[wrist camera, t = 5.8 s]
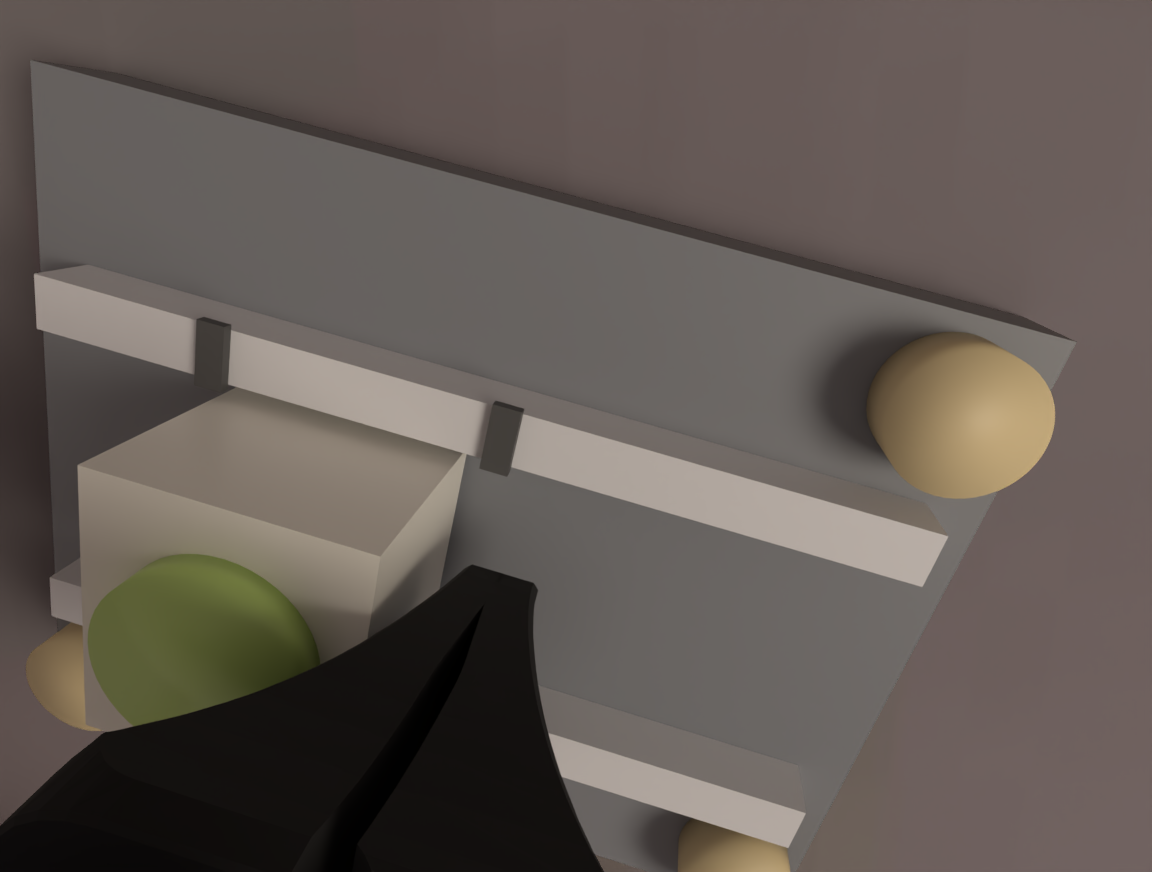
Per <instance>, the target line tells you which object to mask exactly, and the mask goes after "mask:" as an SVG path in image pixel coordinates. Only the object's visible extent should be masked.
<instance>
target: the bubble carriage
mask: <svg viewBox="0 0 1152 872" xmlns="http://www.w3.org/2000/svg"><path fill="white" fill-rule="evenodd" d="M465 459H466V454H465V453H461V452H458V451H454V450H451V449H447V448H444V447H441V446H437V445H434V444H430V443H427V442H423V441H420V440H417V439H413V438H410V437H406V436H403V435H399V434H396V433H393V432H389V431H386V430H382V429H379V428H375V427H372V426H369V425H365V424H362V423H358V422H355V421H351V420H348V419H345V418H341V417H338V416H334V415H331V414H327V413H324V412H321V411H317V410H314V409H310V408H307V407H303V406H300V405H297V404H293V403H290V402H286V401H283V400H279V399H276V398H273V397H269V396H266V395H262V394H259V393H255V392H252V391H249V390H245V389H242V388H238V387H236V388H234V389H232V390H230V391H228V392H226V393H224V394H222V395H220V396H218V397H216V398H214V399H212V400H210V401H208V402H205V403H203V404H201V405H199V406H197V407H195V408H193V409H191V410H189V411H187V412H185V413H183V414H181V415H179V416H177V417H175V418H173V419H171V420H169V421H167V422H165V423H162V424H160V425H158V426H156V427H154V428H152V429H150V430H148V431H146V432H144V433H142V434H140V435H138V436H136V437H134V438H132V439H130V440H128V441H126V442H124V443H122V444H120V445H117V446H115V447H113V448H111V449H109V450H107V451H105V452H103V453H101V454H99V455H97V456H95V457H93V458H91V459H89V460H87V461H85V462H83V463H81V464H79V465H77V466H78V498H79V530H80V562H81V594H82V626H83V658H84V690H85V722H86V725H88V726H91V727H94V728H97V729H100V730H104V731H107V732H110V731H115V730H120V729H125V728H129V727H133V726H137V725H142V724H146V723H150V722H155V721H159V720H163V719H168V718H172V717H176V716H180V715H184V714H187V713H191V712H195V711H198V710H201V709H205V708H208V707H211V706H215V705H218V704H221V703H225V702H228V701H231V700H234V699H237V698H240V697H243V696H246V695H249V694H252V693H254V692H257V691H260V690H262V689H265V688H267V687H270V686H272V685H275V684H277V683H280V682H282V681H285V680H287V679H289V678H292V677H294V676H296V675H299V674H301V673H303V672H305V671H308V670H310V669H312V668H314V667H316V666H318V665H320V664H322V663H324V662H326V661H328V660H330V659H332V658H334V657H336V656H338V655H340V654H342V653H344V652H345V651H347V650H349V649H351V648H353V647H354V646H356V645H358V644H360V643H361V642H363V641H365V640H366V639H368V638H369V637H371V636H373V635H374V634H376V633H377V632H379V631H381V630H382V629H384V628H386V627H387V626H389V625H390V624H392V623H393V622H395V621H396V620H398V619H399V618H401V617H402V616H404V615H405V614H407V613H408V612H409V611H411V610H412V609H414V608H415V607H416V606H418V605H419V604H421V603H422V602H423V601H425V600H426V599H427V598H429V597H430V596H431V595H433V594H434V593H435V592H437V591H438V590H439V588H440V583H441V578H442V573H443V569H444V564H445V559H446V554H447V549H448V544H449V539H450V534H451V529H452V524H453V519H454V514H455V509H456V504H457V499H458V494H459V489H460V484H461V479H462V474H463V469H464V464H465Z"/></svg>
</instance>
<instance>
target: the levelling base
mask: <svg viewBox="0 0 1152 872" xmlns="http://www.w3.org/2000/svg"><path fill="white" fill-rule="evenodd" d="M30 64H31V85H32V106H33V127H34V148H35V169H36V190H37V210H38V231H39V252H40V273H35V274H34V283H35V303H36V322H37V329H40V330H43V336H44V357H45V378H46V398H47V419H48V440H49V461H50V482H51V503H52V524H53V545H54V565H55V574H54V575H52V576H51V577H50V595H51V614H52V616H53V617H56V618H57V628H58V632H57V633H56V634H55V635H53V636H52V637H50V638H49V639H48V640H46V641H45V642H44V643H42V644H41V645H40V646H38V647H37V648H36V649H34V650H33V651H32V652H31V654H30V655H29V657H28V660H27V663H26V676H27V680H28V683H29V686H30V688H31V690H32V692H33V694H34V695H35V697H36V698H37V699H38V701H39V702H40V703H41V704H42V705H43V706H44V707H45V708H46V709H47V710H48V711H49V712H50V713H51V714H52V715H54V716H55V717H57V718H58V719H60V720H61V721H63V722H65V723H67V724H69V725H71V726H74V727H76V728H80V729H83V730H89V731H102V730H100V729H97V728H94V727H91V726H88V725H86V722H85V690H84V658H83V626H82V594H81V562H80V530H79V498H78V466H77V465H79V464H81V463H83V462H85V461H87V460H89V459H91V458H93V457H95V456H97V455H99V454H101V453H103V452H105V451H107V450H109V449H111V448H113V447H115V446H117V445H120V444H122V443H124V442H126V441H128V440H130V439H132V438H134V437H136V436H138V435H140V434H142V433H144V432H146V431H148V430H150V429H152V428H154V427H156V426H158V425H160V424H162V423H165V422H167V421H169V420H171V419H173V418H175V417H177V416H179V415H181V414H183V413H185V412H187V411H189V410H191V409H193V408H195V407H197V406H199V405H201V404H203V403H205V402H208V401H210V400H212V399H214V398H216V397H218V396H220V395H222V394H224V393H226V392H228V391H230V390H232V389H234V388H236V387H238V388H242V389H245V390H249V391H252V392H255V393H259V394H262V395H266V396H269V397H273V398H276V399H279V400H283V401H286V402H290V403H293V404H297V405H300V406H303V407H307V408H310V409H314V410H317V411H321V412H324V413H327V414H331V415H334V416H338V417H341V418H345V419H348V420H351V421H355V422H358V423H362V424H365V425H369V426H372V427H375V428H379V429H382V430H386V431H389V432H393V433H396V434H399V435H403V436H406V437H410V438H413V439H417V440H420V441H423V442H427V443H430V444H434V445H437V446H441V447H444V448H447V449H451V450H454V451H458V452H461V453H465V454H466V459H465V464H464V469H463V474H462V479H461V484H460V489H459V494H458V499H457V504H456V509H455V514H454V519H453V524H452V529H451V534H450V539H449V544H448V549H447V554H446V559H445V564H444V569H443V573H442V578H441V583H440V588H442V587H443V586H444V585H445V584H447V583H448V582H449V581H450V580H451V579H453V578H454V577H455V576H456V575H457V574H459V573H460V572H461V571H462V570H463V569H464V568H466V567H468V566H470V565H472V564H473V565H476V566H479V567H483V568H486V569H489V570H493V571H496V572H499V573H503V574H506V575H509V576H513V577H516V578H519V579H523V580H526V581H529V582H533V583H534V584H535V586H536V587H537V589H538V593H537V597H536V601H535V605H534V616H533V638H534V652H535V664H536V672H537V680H538V686H539V692H540V698H541V703H542V708H543V713H544V718H545V722H546V726H547V730H548V734H549V737H550V741H551V745H552V748H553V751H554V755H555V758H556V761H557V764H558V767H559V771H560V774H561V776H562V779H563V781H564V784H565V787H566V789H567V792H568V794H569V797H570V799H571V802H572V804H573V807H574V809H575V812H576V815H577V817H578V820H579V822H580V824H581V826H582V828H583V830H584V833H585V835H586V837H587V839H588V841H589V843H590V845H591V848H592V850H593V852H594V854H595V855H598V856H601V857H604V858H607V859H610V860H613V861H617V862H620V863H623V864H626V865H629V866H632V867H635V868H638V869H642V870H645V871H648V872H796V871H797V869H798V867H799V865H800V863H801V861H802V859H803V858H804V856H805V854H806V852H807V850H808V848H809V846H810V844H811V842H812V841H813V839H814V837H815V835H816V833H817V831H818V829H819V827H820V825H821V824H822V822H823V820H824V818H825V816H826V814H827V812H828V810H829V808H830V807H831V805H832V803H833V801H834V799H835V797H836V795H837V793H838V791H839V790H840V788H841V786H842V784H843V782H844V780H845V778H846V776H847V774H848V773H849V771H850V769H851V767H852V765H853V763H854V761H855V759H856V758H857V756H858V754H859V752H860V750H861V748H862V746H863V744H864V742H865V741H866V739H867V737H868V735H869V733H870V731H871V729H872V727H873V725H874V724H875V722H876V720H877V718H878V716H879V714H880V712H881V710H882V708H883V707H884V705H885V703H886V701H887V699H888V697H889V695H890V693H891V691H892V690H893V688H894V686H895V684H896V682H897V680H898V678H899V676H900V674H901V673H902V671H903V669H904V667H905V665H906V663H907V661H908V659H909V658H910V656H911V654H912V652H913V650H914V648H915V646H916V644H917V642H918V641H919V639H920V637H921V635H922V633H923V631H924V629H925V627H926V625H927V624H928V622H929V620H930V618H931V616H932V614H933V612H934V610H935V608H936V607H937V605H938V603H939V601H940V599H941V597H942V595H943V593H944V591H945V590H946V588H947V586H948V584H949V582H950V580H951V578H952V576H953V574H954V573H955V571H956V569H957V567H958V565H959V563H960V561H961V559H962V558H963V556H964V554H965V552H966V550H967V548H968V546H969V544H970V542H971V541H972V539H973V537H974V535H975V533H976V531H977V529H978V527H979V525H980V524H981V522H982V520H983V518H984V516H985V514H986V512H987V510H988V508H989V507H990V505H991V503H992V501H993V499H994V497H995V495H996V493H997V491H999V490H1001V489H1003V488H1005V487H1007V486H1009V485H1011V484H1012V483H1014V482H1016V481H1017V480H1018V479H1020V478H1021V477H1022V476H1024V475H1025V474H1026V473H1027V472H1028V471H1029V470H1030V469H1031V468H1032V467H1033V466H1034V465H1035V464H1036V463H1037V462H1038V460H1039V459H1040V458H1041V456H1042V455H1043V453H1044V452H1045V450H1046V448H1047V446H1048V444H1049V442H1050V439H1051V436H1052V433H1053V430H1054V423H1055V407H1054V401H1053V398H1052V395H1051V392H1050V391H1051V390H1052V388H1053V386H1054V384H1055V382H1056V380H1057V378H1058V376H1059V374H1060V373H1061V371H1062V369H1063V367H1064V365H1065V363H1066V361H1067V359H1068V358H1069V356H1070V354H1071V352H1072V350H1073V348H1074V346H1075V344H1076V341H1074V340H1071V339H1069V338H1067V337H1065V336H1063V335H1061V334H1059V333H1056V332H1054V331H1052V330H1050V329H1048V328H1046V327H1044V326H1042V325H1039V324H1037V323H1035V322H1033V321H1031V320H1029V319H1027V318H1024V317H1022V316H1018V315H1014V314H1011V313H1007V312H1003V311H999V310H996V309H992V308H988V307H984V306H981V305H977V304H973V303H970V302H966V301H962V300H958V299H955V298H951V297H947V296H944V295H940V294H936V293H932V292H929V291H925V290H921V289H918V288H914V287H910V286H906V285H903V284H899V283H895V282H892V281H888V280H884V279H880V278H877V277H873V276H869V275H865V274H862V273H858V272H854V271H851V270H847V269H843V268H839V267H836V266H832V265H828V264H825V263H821V262H817V261H813V260H810V259H806V258H802V257H799V256H795V255H791V254H787V253H784V252H780V251H776V250H772V249H769V248H765V247H761V246H758V245H754V244H750V243H746V242H743V241H739V240H735V239H732V238H728V237H724V236H720V235H717V234H713V233H709V232H706V231H702V230H698V229H694V228H691V227H687V226H683V225H680V224H676V223H672V222H668V221H665V220H661V219H657V218H653V217H650V216H646V215H642V214H639V213H635V212H631V211H627V210H624V209H620V208H616V207H613V206H609V205H605V204H601V203H598V202H594V201H590V200H587V199H583V198H579V197H575V196H572V195H568V194H564V193H560V192H557V191H553V190H549V189H546V188H542V187H538V186H534V185H531V184H527V183H523V182H520V181H516V180H512V179H508V178H505V177H501V176H497V175H494V174H490V173H486V172H482V171H479V170H475V169H471V168H468V167H464V166H460V165H456V164H453V163H449V162H445V161H441V160H438V159H434V158H430V157H427V156H423V155H419V154H415V153H412V152H408V151H404V150H401V149H397V148H393V147H389V146H386V145H382V144H378V143H375V142H371V141H367V140H363V139H360V138H356V137H352V136H348V135H345V134H341V133H337V132H334V131H330V130H326V129H322V128H319V127H315V126H311V125H308V124H304V123H300V122H296V121H293V120H289V119H285V118H282V117H278V116H274V115H270V114H267V113H263V112H259V111H256V110H252V109H248V108H244V107H241V106H237V105H233V104H229V103H226V102H222V101H218V100H215V99H211V98H207V97H203V96H200V95H196V94H192V93H189V92H185V91H181V90H177V89H174V88H170V87H166V86H163V85H159V84H155V83H151V82H148V81H144V80H140V79H136V78H133V77H129V76H125V75H122V74H118V73H112V72H106V71H99V70H93V69H86V68H80V67H73V66H67V65H61V64H54V63H48V62H41V61H35V60H30ZM440 588H439V589H440Z"/></svg>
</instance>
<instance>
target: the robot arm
mask: <svg viewBox="0 0 1152 872" xmlns="http://www.w3.org/2000/svg"><path fill="white" fill-rule="evenodd" d="M537 593H538V589H537V587H536V586H535V584H534V583H533V582H529V581H526V580H523V579H519V578H516V577H513V576H509V575H506V574H503V573H499V572H496V571H493V570H489V569H486V568H483V567H479V566H476V565H473V564H472V565H470V566H468V567H466V568H464V569H463V570H462V571H461V572H460V573H459V574H457V575H456V576H455V577H454V578H453V579H451V580H450V581H449V582H448V583H447V584H445V585H444V586H443V587H442V588H440V589H439V590H438V591H437V592H435V593H434V594H433V595H431V596H430V597H429V598H427V599H426V600H425V601H423V602H422V603H421V604H419V605H418V606H416V607H415V608H414V609H412V610H411V611H409V612H408V613H407V614H405V615H404V616H402V617H401V618H399V619H398V620H396V621H395V622H393V623H392V624H390V625H389V626H387V627H386V628H384V629H382V630H381V631H379V632H377V633H376V634H374V635H373V636H371V637H369V638H368V639H366V640H365V641H363V642H361V643H360V644H358V645H356V646H354V647H353V648H351V649H349V650H347V651H345V652H344V653H342V654H340V655H338V656H336V657H334V658H332V659H330V660H328V661H326V662H324V663H322V664H320V665H318V666H316V667H314V668H312V669H310V670H308V671H305V672H303V673H301V674H299V675H296V676H294V677H292V678H289V679H287V680H285V681H282V682H280V683H277V684H275V685H272V686H270V687H267V688H265V689H262V690H260V691H257V692H254V693H252V694H249V695H246V696H243V697H240V698H237V699H234V700H231V701H228V702H225V703H221V704H218V705H215V706H211V707H208V708H205V709H201V710H198V711H195V712H191V713H187V714H184V715H180V716H176V717H172V718H168V719H163V720H159V721H155V722H150V723H146V724H142V725H137V726H133V727H129V728H125V729H120V730H115V731H110V732H105V733H103V734H101V735H100V736H99V737H98V738H97V739H96V740H94V741H93V742H92V743H91V744H90V745H88V746H87V747H86V748H84V749H83V750H82V751H81V752H79V753H78V754H77V755H76V756H74V757H73V758H72V759H71V760H70V761H68V762H67V763H66V764H65V765H64V766H63V767H62V768H61V769H59V770H58V771H57V772H56V773H55V774H54V775H53V776H52V777H51V778H50V779H49V780H48V781H47V782H46V783H44V784H43V785H42V786H41V787H40V788H39V789H38V790H37V791H36V792H35V793H34V794H33V795H32V796H31V797H30V798H29V799H28V800H27V801H26V802H25V803H24V804H23V805H22V806H20V807H19V808H18V809H17V810H16V811H15V812H14V813H13V814H12V815H11V816H10V817H9V818H8V819H7V820H6V821H5V822H4V823H3V824H2V825H1V826H0V872H604V871H603V869H602V867H601V865H600V863H599V861H598V859H597V858H596V856H595V854H594V852H593V850H592V848H591V845H590V843H589V841H588V839H587V837H586V835H585V833H584V830H583V828H582V826H581V824H580V822H579V820H578V817H577V815H576V812H575V809H574V807H573V804H572V802H571V799H570V797H569V794H568V792H567V789H566V787H565V784H564V781H563V779H562V776H561V774H560V771H559V767H558V764H557V761H556V758H555V755H554V751H553V748H552V745H551V741H550V737H549V734H548V730H547V726H546V722H545V718H544V713H543V708H542V703H541V698H540V692H539V686H538V680H537V672H536V664H535V652H534V638H533V616H534V605H535V601H536V597H537Z"/></svg>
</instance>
